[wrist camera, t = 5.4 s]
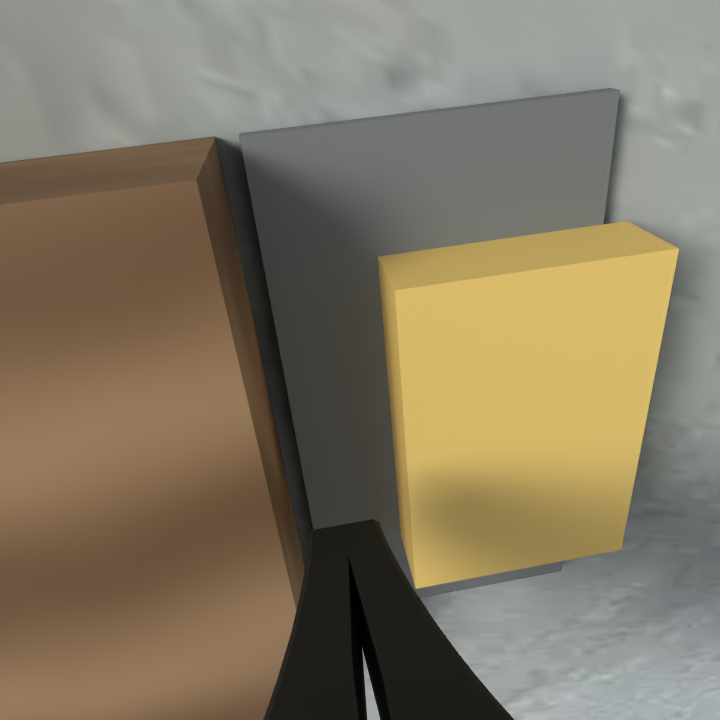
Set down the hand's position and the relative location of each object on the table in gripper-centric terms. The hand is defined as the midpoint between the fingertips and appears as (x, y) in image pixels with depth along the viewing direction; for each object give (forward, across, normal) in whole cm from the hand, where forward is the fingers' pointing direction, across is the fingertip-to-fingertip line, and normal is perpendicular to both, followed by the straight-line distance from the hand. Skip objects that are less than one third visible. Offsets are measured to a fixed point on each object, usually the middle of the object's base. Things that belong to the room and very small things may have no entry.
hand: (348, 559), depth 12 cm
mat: (+5, -3, 0) cm, 6 cm away
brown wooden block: (+5, +6, 0) cm, 8 cm away
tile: (+2, -5, 0) cm, 5 cm away
